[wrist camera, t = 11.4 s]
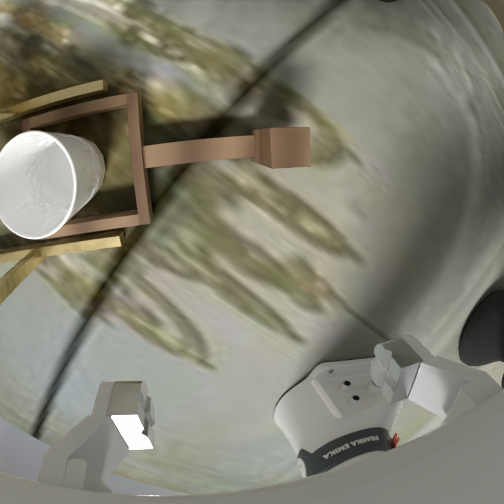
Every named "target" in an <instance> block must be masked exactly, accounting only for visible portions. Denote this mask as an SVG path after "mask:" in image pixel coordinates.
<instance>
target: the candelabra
mask: <svg viewBox="0 0 504 504" xmlns="http://www.w3.org/2000/svg"><path fill="white" fill-rule="evenodd" d="M459 357H460V360H461V361H462V362H463V363H465V364H467V365H469V366H481V365H486V364H489V363H492V362H496V361H502V362H504V291H499V292H496V293H493V294H491V295H490V296H489V297H488V298H486V299H485V300H484V301H483V302H482V304H481V305H480V306H479V307H478V308H477V309H476V311H475V312H474V314H473V315H472V316H471V318H470V319H469V321H468V323H467V325H466V327H465V329H464V331H463V334H462V337H461V339H460V345H459ZM502 388H503V389H504V374H503V378H502Z"/></svg>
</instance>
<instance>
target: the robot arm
mask: <svg viewBox="0 0 504 504" xmlns="http://www.w3.org/2000/svg"><path fill="white" fill-rule="evenodd" d="M374 354H375V356H376V357H373V358H365V359H356V360H346V361H336V362H325V363H321V364H319V365H318V366H316V367H315V368H314V369H313V371H312V372H311V373H310V374H309V376H308V377H307V378H306V379H305V380H304V381H302V382H301V383H299V384H298V385H296V386H295V387H294V388H292V389H291V390H290V391H288V392H287V393H286V394H285V395H284V396H283V397H282V399H281V400H280V401H279V403H278V404H277V406H276V408H275V412H274V420H275V422H276V424H277V425H278V426H279V428H280V429H281V430H282V431H283V433H284V434H285V435H286V437H287V438H288V440H289V442H290V443H291V445H292V447H293V449H294V450H295V452H296V454H297V456H298V457H297V459H298V460H297V461H298V466H299V469H300V472H301V474H302V477H303V478H300V479H296V480H292V481H287V482H283V483H278V484H272V485H267V486H261V487H255V488H249V489H242V490H235V491H226V492H217V493H205V494H189V495H129V494H114V493H112V491H111V490H110V489H109V488H108V487H107V486H106V485H105V483H106V482H107V480H108V479H109V478H110V476H111V475H112V474H113V472H114V471H115V470H116V468H117V467H118V466H119V464H120V463H121V462H122V460H123V459H124V457H125V456H126V455H127V453H128V452H129V451H130V450H129V449H153V442H154V432H153V430H152V428H151V427H152V426H153V425H154V423H155V414H154V407H153V403H152V400H151V398H150V397H148V396H147V387H146V384H145V382H143V381H116V382H102V383H101V384H100V386H99V389H98V393H97V396H96V400H95V404H94V407H93V411H92V415H91V416H87V417H85V418H84V419H83V420H82V421H81V422H80V423H79V424H78V425H76V426H75V427H74V428H73V429H72V430H71V431H70V432H68V433H67V434H66V435H65V436H64V437H63V438H62V439H61V440H59V441H58V442H57V443H56V444H55V445H54V446H53V447H51V448H50V449H49V450H48V451H47V452H46V453H45V455H44V458H43V462H42V465H41V469H40V473H39V476H38V480H37V482H36V481H32V480H28V479H24V478H20V477H17V476H13V475H9V474H6V473H3V472H0V504H504V389H503V388H502V387H501V386H500V385H499V384H498V383H497V382H496V381H495V380H494V379H492V378H491V377H490V376H489V375H488V374H487V373H486V372H485V371H481V370H478V369H475V368H472V367H469V366H466V365H463V364H460V363H457V362H454V361H451V360H448V359H445V358H442V357H439V356H436V357H434V356H433V355H432V354H431V353H430V352H429V351H428V350H427V349H426V348H425V347H424V346H423V345H422V344H421V343H420V342H419V341H418V340H417V339H416V338H415V337H414V336H413V335H410V334H409V335H406V336H403V337H399V338H397V339H393V340H390V341H386V342H383V343H379V344H377V345H376V346H375V348H374ZM406 398H408V399H409V400H411V401H413V402H414V403H416V404H418V405H420V406H422V407H424V408H425V409H427V410H429V411H431V412H433V413H435V414H437V415H438V416H440V417H442V418H444V421H443V423H442V425H441V426H440V427H439V428H437V429H435V430H433V431H431V432H429V433H427V434H425V435H423V436H421V437H418V438H416V439H414V440H412V441H410V442H407V443H405V444H403V445H401V446H398V447H396V445H397V443H398V441H399V439H400V438H398V439H397V433H395V434H394V437H393V439H391V437H390V436H389V433H390V431H391V430H392V428H393V426H394V424H395V422H396V420H397V418H398V416H399V414H400V411H401V409H402V406H403V401H404V399H406ZM396 439H397V440H396Z"/></svg>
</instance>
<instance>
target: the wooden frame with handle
mask: <svg viewBox="0 0 504 504" xmlns="http://www.w3.org/2000/svg"><path fill="white" fill-rule="evenodd" d="M124 108H127V114H128V128H129V141H130V151H131V161H132V171H133V179H134V187H135V195H136V202H137V209H134V210H127V211H120V212H114V213H107V214H101V215H94V216H88V217H82V218H76V219H70V220H68V221H67V222H66V223H65V224H64V225H63V226H62V227H61V228H60V229H59V230H58V231H56V232H55V233H54V234H52V235H50V236H48V237H45V238H41V239H39V240H44V239H50V238H56V237H62V236H68V235H74V234H81V233H87V232H94V231H101V230H108V229H115V228H122V227H129V226H136V225H144V224H150V223H151V221H152V219H153V210H152V202H151V194H150V186H149V177H148V168H151V167H158V166H166V165H174V164H182V163H191V162H201V161H211V160H222V159H234V158H248V157H251V161H253V162H256V163H258V164H261V165H264V166H266V167H269V168H272V169H274V168H292V167H311V157H310V128H309V127H280V128H264V129H257V130H250V136H235V137H221V138H209V139H198V140H189V141H180V142H171V143H163V144H156V145H149V146H145V136H144V123H143V107H142V95H141V94H139V93H138V92H133V93H127V94H122V95H117V96H111V97H107V98H102V99H97V100H93V101H88V102H84V103H80V104H76V105H72V106H68V107H65V108H61V109H57V110H54V111H50V112H47V113H44V114H40V115H37V116H34V117H31V118H28V119H25V120H22V133H24V132H27V131H42V129H41V128H43V127H47V126H50V125H54V124H57V123H61V122H65V121H69V120H73V119H77V118H81V117H85V116H90V115H94V114H99V113H103V112H108V111H114V110H119V109H124Z"/></svg>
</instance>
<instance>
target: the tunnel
mask: <svg viewBox="0 0 504 504" xmlns="http://www.w3.org/2000/svg"><path fill="white" fill-rule="evenodd" d="M103 93H108V83H107V82H106V81H104V80H98V81H94V82H89V83H85V84H81V85H78V86H74V87H70V88H66V89H63V90H59V91H56V92H53V93H49V94H46V95H43V96H40V97H37V98H34V99H31V100H28V101H24V100H18V99H11V98H4V97H0V124H2V123H4V122H7V121H10V120H12V119H15V118H18V117H21V116H24V115H27V114H30V113H33V112H36V111H39V110H42V109H45V108H48V107H52V106H55V105H59V104H62V103H66V102H70V101H74V100H77V99H81V98H86V97H90V96H94V95H99V94H103ZM124 240H125V237H124V231H123V230H120V231H113V232H106V233H99V234H92V235H86V236H79V237H73V238H66V239H60V240H54V241H48V242H41V243H35V244H30V245H24V246H18V247H12V248H7V249H1V250H0V263H5V262H11V261H18V260H20V261H19V262H18V263H17V264H16V265H15V266H14V267H12V268H11V269H10V270H9V271H8V272H7V273H6V274H5V275H4V276H3V277H1V278H0V305H1V303H2V302H3V301H4V300H5V299H6V298H7V297H8V296H9V295H10V293H11V292H12V291H13V290H14V289H15V288H16V287H17V286H18V285H19V284H20V283H21V282H22V281H23V280H24V279H25V278H26V277H27V276H28V275H29V274H30V273H31V272H32V271H33V269H34V268H35V267H37V266H38V265H39V264H40V263H41V262H42V261H43V260H44V259H45V258H46V257H47V256H52V255H59V254H66V253H73V252H80V251H87V250H95V249H102V248H109V247H117V246H121V245H122V244H123V242H124Z"/></svg>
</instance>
